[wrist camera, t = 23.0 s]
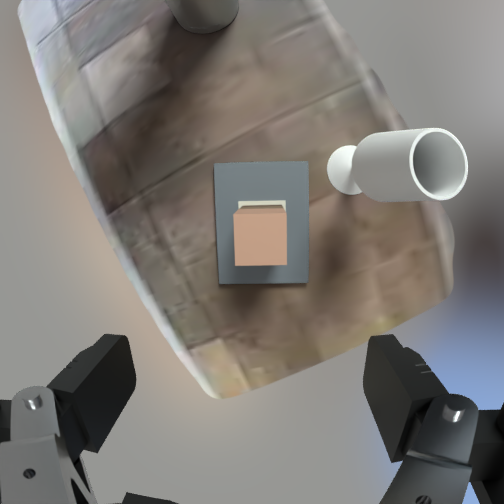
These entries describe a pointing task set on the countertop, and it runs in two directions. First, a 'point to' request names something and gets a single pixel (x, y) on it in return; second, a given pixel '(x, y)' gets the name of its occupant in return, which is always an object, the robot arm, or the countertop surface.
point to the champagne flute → (401, 166)
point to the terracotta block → (260, 237)
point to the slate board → (263, 193)
